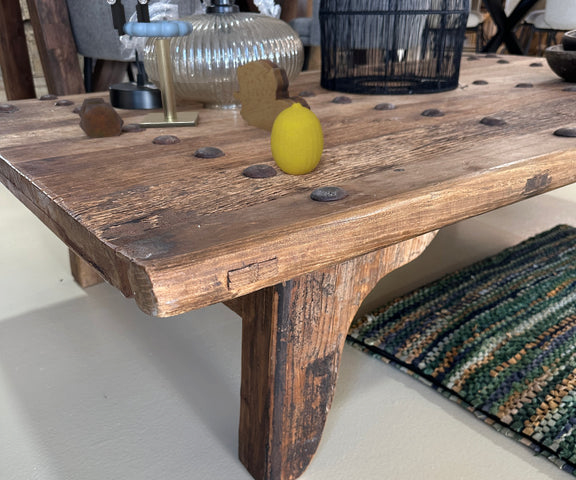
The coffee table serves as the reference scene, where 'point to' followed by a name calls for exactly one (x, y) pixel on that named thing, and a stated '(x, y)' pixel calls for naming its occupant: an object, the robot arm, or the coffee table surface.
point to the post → (168, 95)
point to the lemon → (297, 140)
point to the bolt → (99, 119)
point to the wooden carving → (264, 93)
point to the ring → (158, 28)
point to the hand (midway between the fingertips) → (133, 33)
